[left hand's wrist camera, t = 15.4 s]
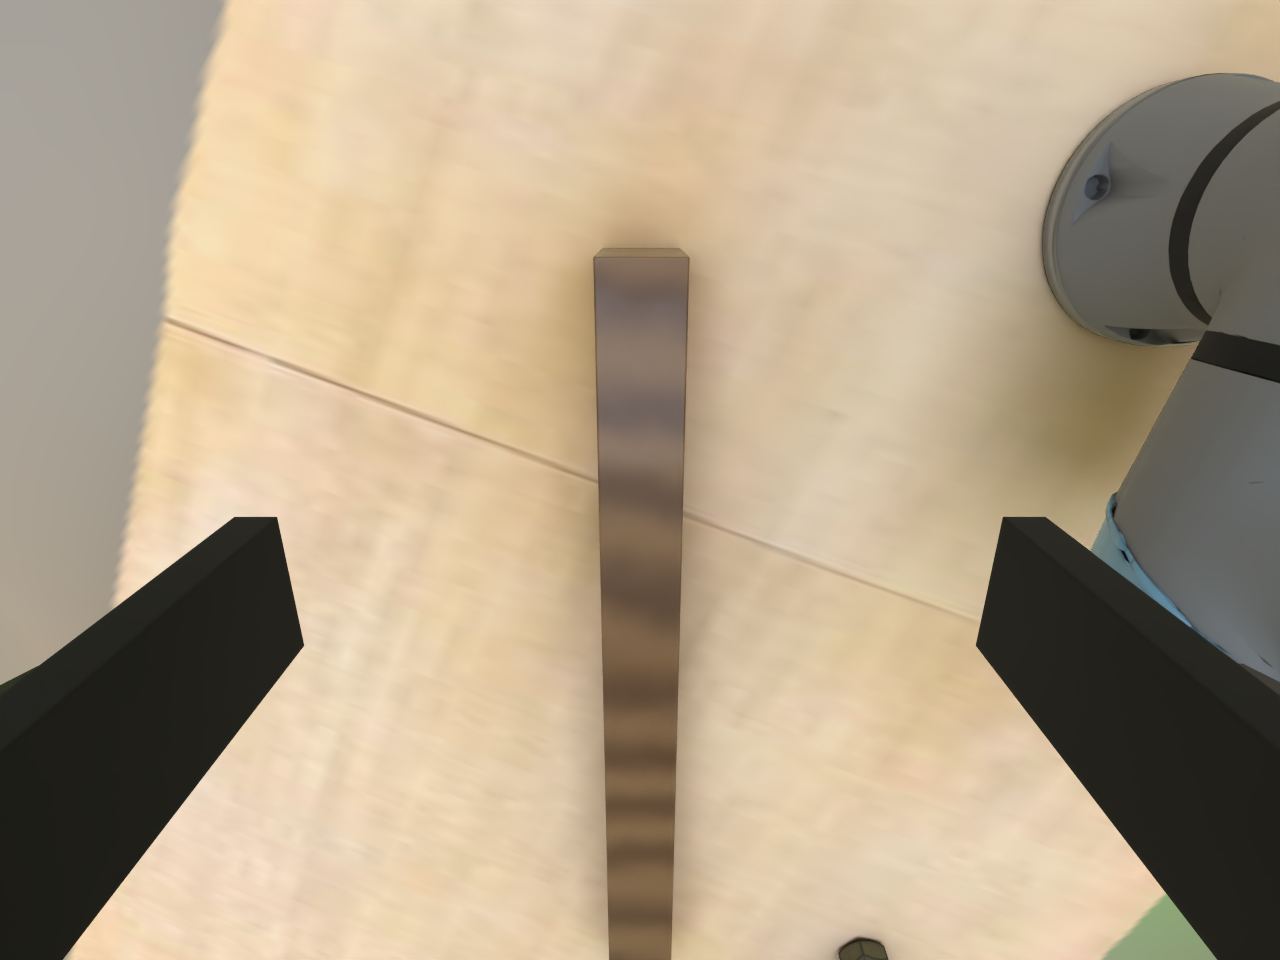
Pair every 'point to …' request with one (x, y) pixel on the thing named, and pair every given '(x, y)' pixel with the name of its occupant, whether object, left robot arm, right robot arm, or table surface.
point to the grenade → (863, 951)
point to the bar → (640, 578)
